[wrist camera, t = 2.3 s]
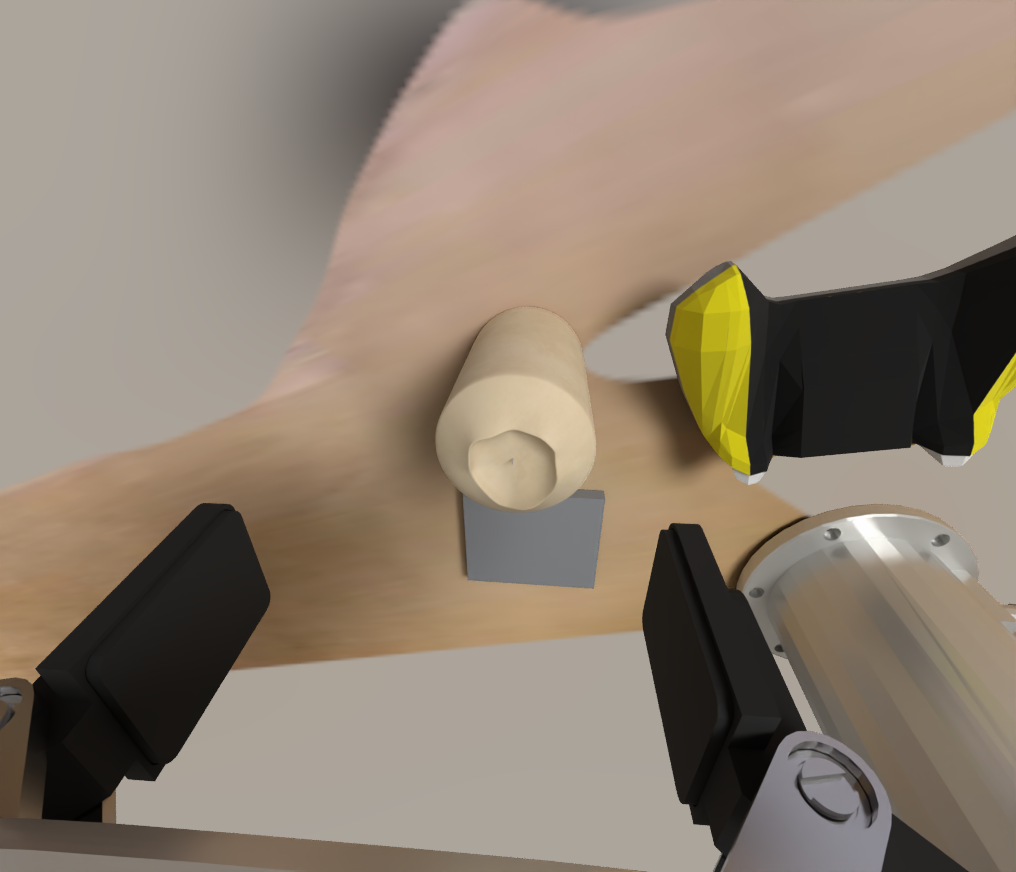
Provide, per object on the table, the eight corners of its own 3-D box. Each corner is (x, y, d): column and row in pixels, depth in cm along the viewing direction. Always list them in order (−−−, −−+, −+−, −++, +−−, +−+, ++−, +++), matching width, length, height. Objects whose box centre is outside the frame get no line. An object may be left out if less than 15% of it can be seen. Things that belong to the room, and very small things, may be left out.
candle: (449, 354, 24) (389, 463, 15) (533, 279, 22) (517, 355, 13) (522, 428, 25) (505, 564, 17) (606, 366, 23) (635, 485, 15)
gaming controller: (653, 254, 21) (658, 448, 25) (682, 281, 16) (681, 513, 21) (1052, 188, 18) (975, 416, 23) (1227, 196, 14) (1085, 481, 18)
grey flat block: (603, 490, 27) (605, 499, 26) (592, 578, 30) (593, 588, 30) (464, 483, 28) (462, 491, 27) (469, 570, 31) (467, 580, 30)
